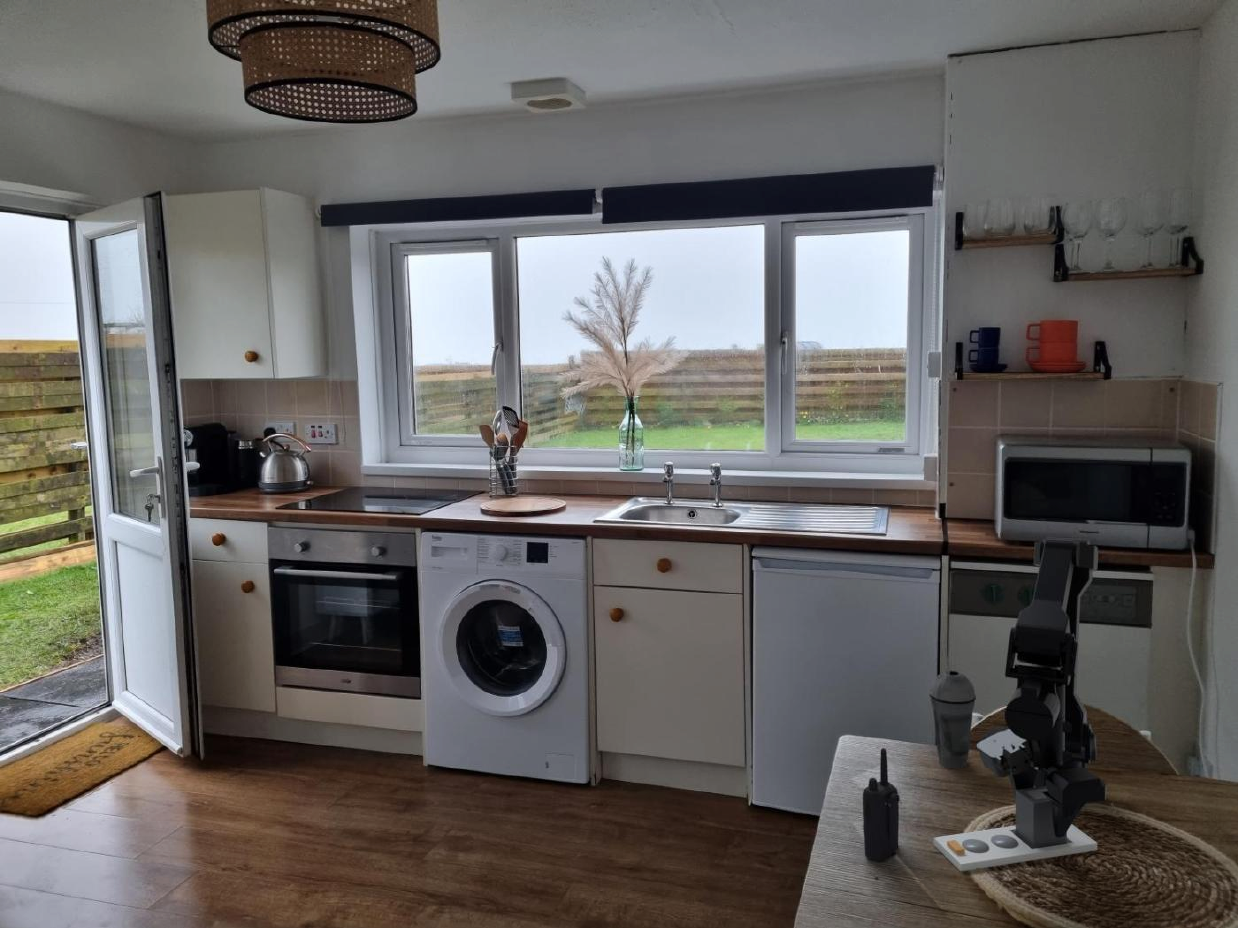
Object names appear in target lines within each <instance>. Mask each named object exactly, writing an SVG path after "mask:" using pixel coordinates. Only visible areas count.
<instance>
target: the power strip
mask: <svg viewBox="0 0 1238 928" xmlns="http://www.w3.org/2000/svg"><path fill="white" fill-rule="evenodd" d="M933 845H934V846H935V847H936V849H937V850H939V851H940V852H941V853H942V854H943V855H944V856H945V858H947V859H948V860H949V861H950V863H952V864H953V865H954V867H956V868H957V869H958V870H959V872H966V871H973V870H977V869H976V868H979V869H985V868H991V867H997V866H1005V865H1010V864H1017V863H1023V862H1028V861H1036V860H1041V859H1048V858H1055V857H1061V856H1068V855H1075V854H1079V853H1087V852H1093V851H1098V842H1097V841H1095V839H1092V837H1090V836H1088V835H1087V834H1086V833H1085V832H1083V831H1082V830H1080V829H1079V828H1078V827H1077V826H1076V825H1074V824H1073V823H1072V824H1071V826H1070V828H1069V829H1068V831H1067V844H1062V845H1056V846H1049V847H1043V848H1036V849H1031V848H1030V847H1029V846H1028V845H1026V844H1025V843H1024V842H1023V841H1022V840H1020V839H1019V838H1018V837H1017V836H1016V824H1015V825H1010V826H1003V827H997V828H996V827H995V828H990V829H984V830H976V831H969V832H961V833H957V834H956V833H955V834H949V835H941V836H938V837H937V836H936V837H933Z"/></svg>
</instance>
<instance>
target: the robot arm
mask: <svg viewBox="0 0 1238 928" xmlns="http://www.w3.org/2000/svg"><path fill="white" fill-rule="evenodd" d="M1033 552H1034V553H1033V555H1034V556H1033V565H1034V566H1036V567H1038V573H1037V577H1036V582H1035V586H1034V590H1033V594H1032V600H1031V604H1030V605H1029V606H1027V607H1026V608H1024V609H1022V610H1020V611H1019V614H1018V616H1017V620H1016V623H1015V626H1011V628H1010V632H1009V638H1008V646H1007V647H1008V648H1007V654H1006V664H1005V670H1004V676H1005V678H1011V679H1016V680H1017V681H1016V682H1017V685H1016V689H1015V691H1014V692H1013V694H1012V696H1011V698H1010V700H1009V701H1008V703H1007V705H1006V707H1005V710H1004V721H1005V723H1006V726H1003V727H995V728H990V729H988V731H987V732H986V733H985V734H984V735H983V740H980V741H979V742H978V743H977V744H976V748H977V750H978V753H979V756H980V759H981V761H982V764H983V766H984V768H986V769H988V770H990V771H991V773H992V772H993V773H994V775H995V776H996V777H999V778H1006V777H1008V778H1009V782H1010V784H1011V787H1012V791H1013V793H1014V797H1015V798H1016V790H1020V789H1027V788H1034V787H1041V786H1046V788H1047V790H1048V791H1044V792H1042V793H1043V794H1044V795H1045V796H1046V797H1047V798H1048V799H1049V800H1050V801H1051V803H1052V815H1053V827H1054V833H1055V836H1056V837H1057V838H1059V837H1064V836H1065V834H1066V832H1067V831H1068V829H1069V828H1070V826H1071V824H1072V825H1073V823H1074V821H1075V819H1076V818H1077V817H1078V815H1079V813H1080V811H1081V810H1082V809H1083V808H1084V806H1085V805H1086V804H1089V803H1097V802H1103V801H1106V799H1107V783H1106V782H1105V781H1103V779H1102V778H1100V777H1099V776H1097V775H1096V774H1094V773H1093V772H1091V771H1089V770H1088V769H1086V765H1090V763H1091V762H1093V761H1096V760H1097V742H1096V741H1097V740H1096V734H1095V733H1094V732H1093V729H1092V724H1090V723H1088V720H1087V717H1088V713H1087V709H1086V708H1085V706H1084V704H1083V702H1082V700H1081V699H1080V697H1079V694H1077V684H1078V683H1077V682H1078V680H1077V679H1078V663H1079V662H1078V660H1079V659H1078V658H1079V638H1080V637H1079V636H1080V613H1081V597H1082V595H1083V594H1084V593H1085V592H1086V590H1087V589H1088V587H1089V586H1090V585H1091V583H1092V582H1093V574H1094V571H1097V570H1098V563H1099V547H1097V546H1096V545H1095V544H1091V543H1090V539H1080V538H1066V537H1065V538H1064V537H1063V538H1062V537H1049V536H1048V537H1047V536H1046V537H1045V539H1042V540H1041V539H1040V541H1039V540H1038V541H1034V551H1033ZM1015 660H1017V662H1019V663H1022V664H1016V663H1015ZM1023 663H1024V664H1030V665H1024V664H1023Z"/></svg>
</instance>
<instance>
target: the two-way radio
mask: <svg viewBox="0 0 1238 928" xmlns="http://www.w3.org/2000/svg"><path fill="white" fill-rule="evenodd" d="M887 755H888V754H887V749H886V748H884V747H883V748H881V749H880V758H879V760H880V763H879V767H880V770H879V771H880V772H879V774H880V775H879V777H880V780H879V781H877V780H878V779H877V778H875V777H870V778H869V781H868V786H867V787H865V788H864V789H863V792H862V817H863V819H862V820H863V827H862V829H863V841H864V856H865V857H866V858H868V860H871V861H874V862H875V861H876V862H882V861H886V860H889V859H891V858H892V857H894V856H896V855H897V853H896V851H897V850H898V849H899V824H900V823H899V820H900V819H899V818H900V817H899V816H900V815H899V814H900V812H899V811H900V808H899V807H900V806H899V805H900V804H899V803H900V797H901V796H900V795H899V793H898V789H897V787H895V785H894V784H892V783H890V782H889V779H888V778H889V776H888V775H889V774H888V756H887Z"/></svg>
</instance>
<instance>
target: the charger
mask: <svg viewBox="0 0 1238 928" xmlns="http://www.w3.org/2000/svg"><path fill="white" fill-rule="evenodd" d="M1044 791H1048V790H1047V788H1046V786H1041V787H1036V786H1034V787H1033V788H1027V789H1020V790H1016V797H1015V825H1016V836H1017V837H1018V838H1019V839H1020V840H1022V841H1023V842H1024V843H1025V844H1026V845H1028V846H1029V847H1030V848H1031V849H1036V848H1043V847H1049V846H1056V845H1062V844H1067V832H1066V834H1065V836H1064V837H1059V838H1057V837H1056V836H1055V833H1054V827H1053V815H1052V803H1051V801H1050V800H1049V799H1048V798H1047V797H1046V796H1045V795H1044V794H1043V793H1042V792H1044Z"/></svg>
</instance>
